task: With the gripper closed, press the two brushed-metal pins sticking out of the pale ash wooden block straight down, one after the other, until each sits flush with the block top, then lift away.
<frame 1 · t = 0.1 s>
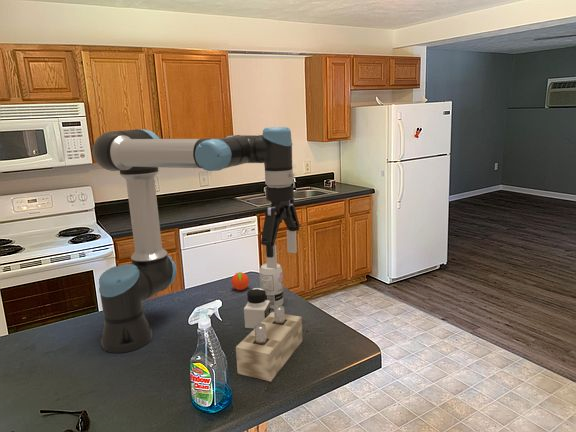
hand: (282, 259, 121), 28 cm above the countertop, tool pointing down, fingers open, 13 cm apart
pin block: (272, 356, 124), on the countertop
supplement can: (272, 305, 157), on the countertop
tomato: (240, 290, 172), on the countertop
medicine bottle: (258, 324, 143), on the countertop
pin 2: (279, 319, 127), point 9 cm above the countertop, slide at 0.0 cm
pin 1: (260, 338, 117), point 9 cm above the countertop, slide at 0.0 cm
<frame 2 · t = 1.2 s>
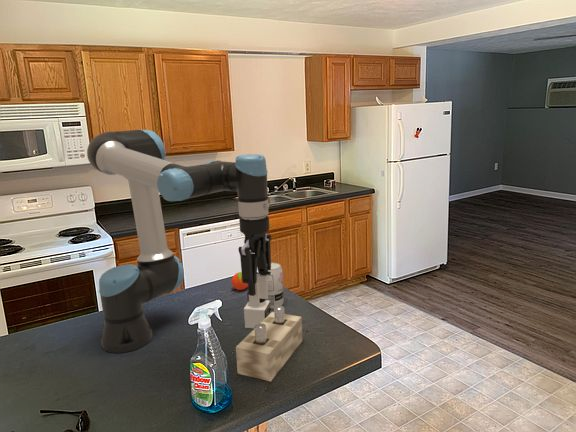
hand: (258, 301, 114), 20 cm above the countertop, tool pointing down, fingers open, 4 cm apart
nothing on the countertop moved.
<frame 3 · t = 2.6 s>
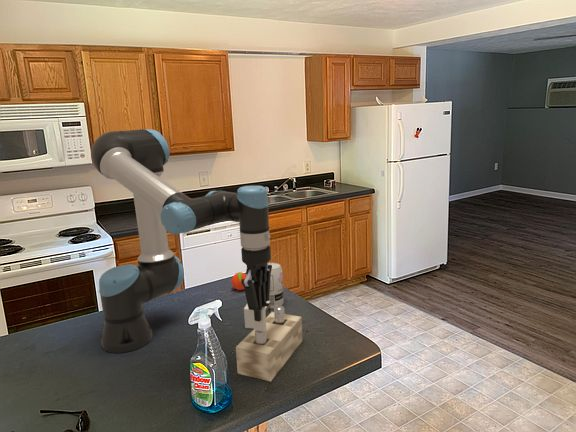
hand: (260, 329, 116), 11 cm above the countertop, tool pointing down, fingers closed
pin 1: (261, 343, 117), point 7 cm above the countertop, slide at 1.3 cm, touching gripper
everything else where it was.
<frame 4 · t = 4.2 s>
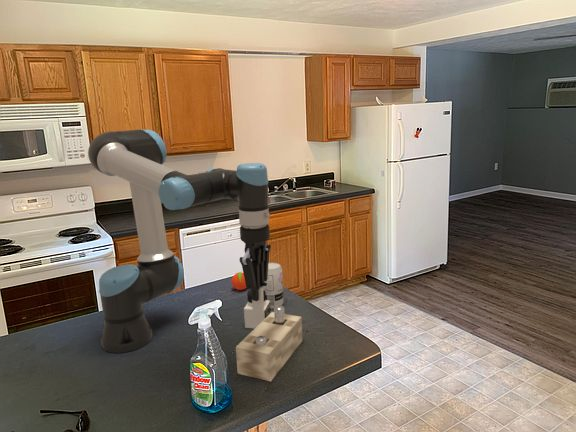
hand: (258, 309, 115), 17 cm above the countertop, tool pointing down, fingers closed
pin 1: (261, 350, 117), point 5 cm above the countertop, slide at 3.7 cm
everything else where it was.
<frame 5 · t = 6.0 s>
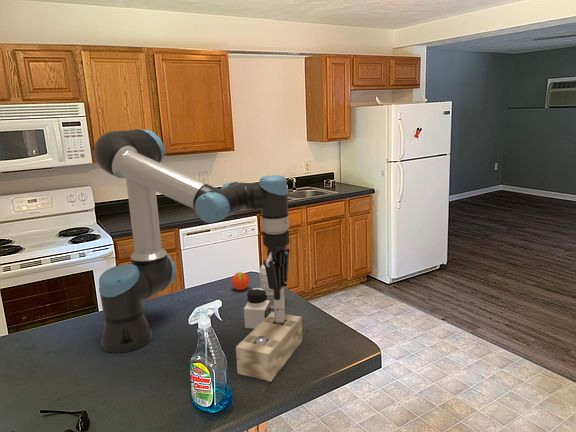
hand: (279, 308, 126), 12 cm above the countertop, tool pointing down, fingers closed
pin 2: (279, 320, 127), point 8 cm above the countertop, slide at 0.4 cm, touching gripper
everything else where it was.
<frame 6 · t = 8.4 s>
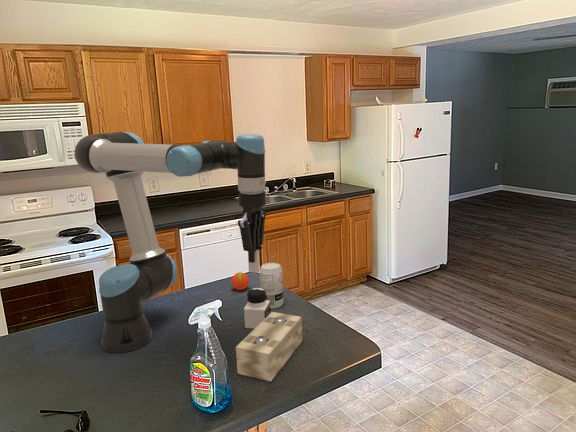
hand: (254, 271, 124), 24 cm above the countertop, tool pointing down, fingers closed
pin 2: (280, 330, 128), point 5 cm above the countertop, slide at 3.7 cm
everything else where it was.
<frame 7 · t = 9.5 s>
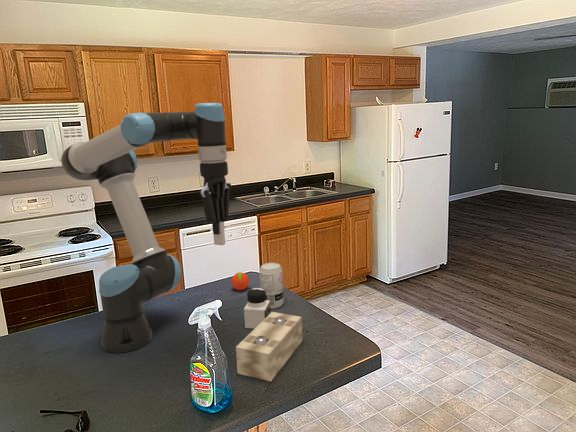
hand: (219, 244, 122), 32 cm above the countertop, tool pointing down, fingers closed
nothing on the countertop moved.
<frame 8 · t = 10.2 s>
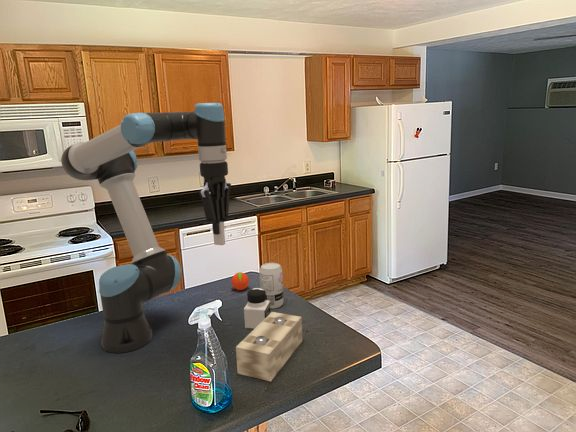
hand: (219, 244, 122), 32 cm above the countertop, tool pointing down, fingers closed
nothing on the countertop moved.
at the end: pin 1 slide at 3.7 cm; pin 2 slide at 3.7 cm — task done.
